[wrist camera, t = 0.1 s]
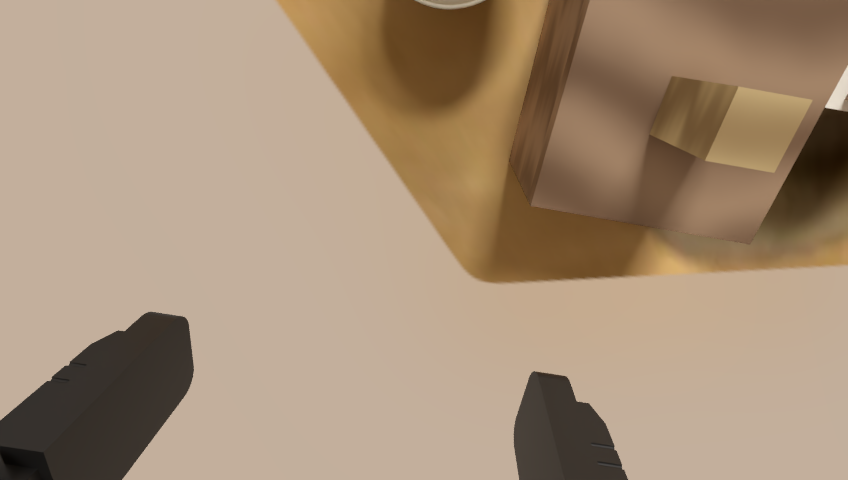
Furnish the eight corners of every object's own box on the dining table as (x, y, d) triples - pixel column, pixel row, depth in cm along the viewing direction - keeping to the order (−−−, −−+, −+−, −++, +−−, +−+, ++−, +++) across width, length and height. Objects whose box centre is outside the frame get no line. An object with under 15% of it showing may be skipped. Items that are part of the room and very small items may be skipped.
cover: (556, -29, 31) (662, -99, 16) (747, 6, 31) (1040, -28, 16) (509, 160, 37) (550, 247, 22) (669, 189, 37) (824, 295, 22)
